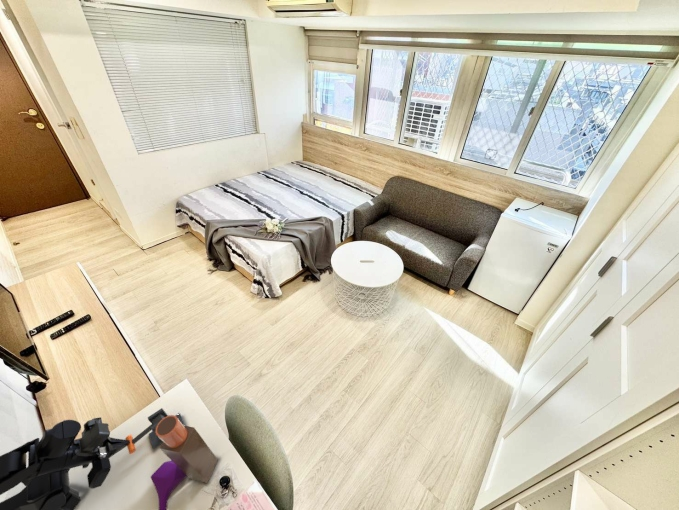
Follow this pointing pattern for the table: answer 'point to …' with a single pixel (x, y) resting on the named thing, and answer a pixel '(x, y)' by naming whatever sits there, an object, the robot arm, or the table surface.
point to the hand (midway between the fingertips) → (129, 442)
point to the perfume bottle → (166, 481)
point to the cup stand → (193, 456)
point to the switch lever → (141, 434)
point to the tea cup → (171, 431)
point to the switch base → (153, 437)
